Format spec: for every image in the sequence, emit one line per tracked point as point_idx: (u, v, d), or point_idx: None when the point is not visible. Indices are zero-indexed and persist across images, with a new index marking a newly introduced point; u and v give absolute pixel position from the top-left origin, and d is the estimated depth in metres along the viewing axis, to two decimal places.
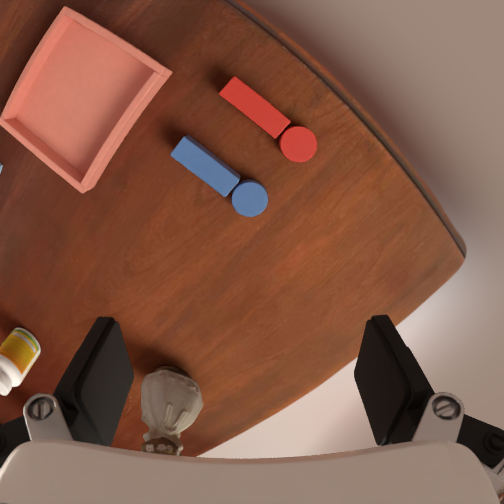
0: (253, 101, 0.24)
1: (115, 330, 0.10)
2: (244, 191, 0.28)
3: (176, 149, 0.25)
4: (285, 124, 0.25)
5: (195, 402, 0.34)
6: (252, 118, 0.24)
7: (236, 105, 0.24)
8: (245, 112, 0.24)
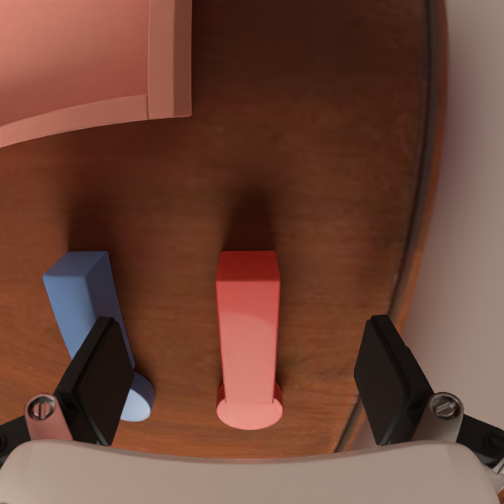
0: (257, 345, 0.11)
1: (115, 330, 0.10)
2: None
3: (58, 281, 0.10)
4: (261, 401, 0.12)
5: None
6: (224, 362, 0.11)
7: (222, 326, 0.10)
8: (224, 347, 0.11)
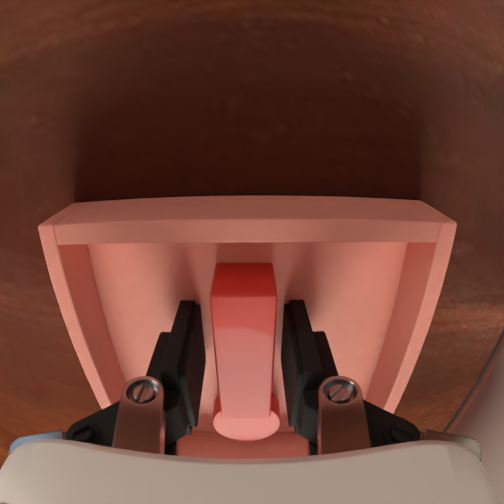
0: (253, 360, 0.10)
1: (199, 312, 0.11)
2: None
3: None
4: (257, 415, 0.12)
5: None
6: (220, 377, 0.11)
7: (217, 341, 0.10)
8: (219, 362, 0.10)
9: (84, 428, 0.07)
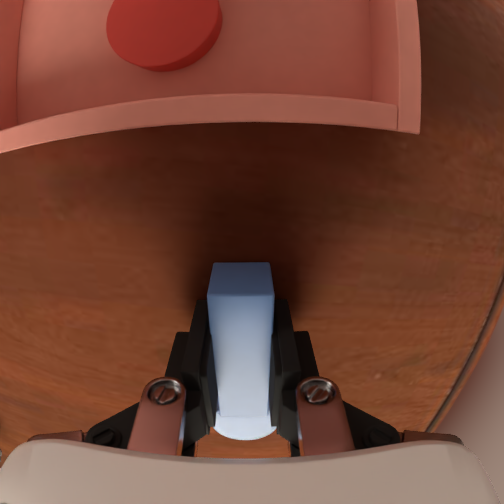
0: None
1: None
2: None
3: (232, 300, 0.09)
4: None
5: None
6: None
7: None
8: None
9: (104, 431, 0.07)
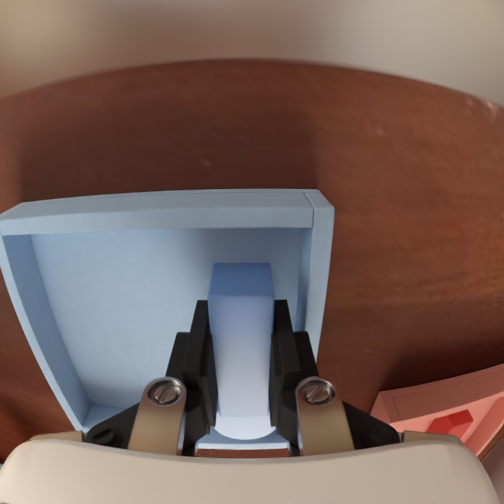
0: None
1: None
2: None
3: (233, 301, 0.09)
4: None
5: None
6: None
7: None
8: None
9: (105, 431, 0.07)
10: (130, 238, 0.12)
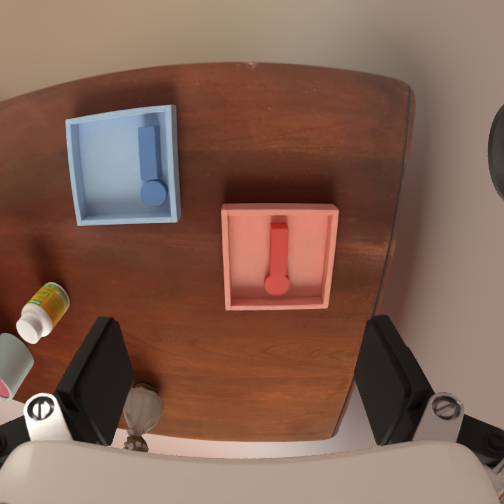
0: (281, 249, 0.38)
1: (115, 330, 0.10)
2: (154, 186, 0.35)
3: (143, 128, 0.32)
4: (282, 274, 0.39)
5: (158, 419, 0.48)
6: (271, 256, 0.38)
7: (272, 243, 0.37)
8: (272, 250, 0.38)
9: None
10: (115, 126, 0.33)
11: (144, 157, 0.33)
